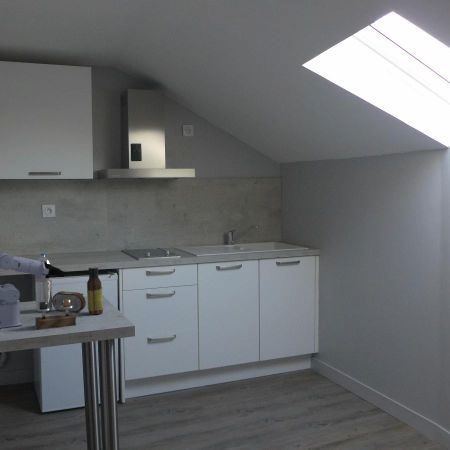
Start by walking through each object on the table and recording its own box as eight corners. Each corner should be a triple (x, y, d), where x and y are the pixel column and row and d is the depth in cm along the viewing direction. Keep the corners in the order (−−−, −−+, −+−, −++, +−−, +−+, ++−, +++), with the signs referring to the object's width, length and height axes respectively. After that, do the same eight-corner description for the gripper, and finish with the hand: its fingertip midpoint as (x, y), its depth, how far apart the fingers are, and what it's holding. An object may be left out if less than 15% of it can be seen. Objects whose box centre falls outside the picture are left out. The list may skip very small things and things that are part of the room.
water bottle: (53, 311, 259) (52, 254, 257) (36, 313, 257) (35, 254, 254) (51, 308, 265) (50, 252, 263) (35, 309, 263) (34, 252, 261)
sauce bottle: (104, 311, 260) (103, 265, 258) (101, 315, 254) (101, 268, 252) (88, 311, 260) (88, 265, 258) (86, 315, 253) (85, 268, 252)
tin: (86, 311, 260) (85, 292, 259) (82, 313, 257) (82, 293, 256) (55, 309, 264) (54, 290, 263) (51, 311, 261) (50, 291, 260)
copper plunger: (62, 318, 235) (61, 301, 235) (59, 315, 240) (58, 299, 239) (75, 316, 238) (74, 300, 237) (71, 313, 242) (71, 298, 241)
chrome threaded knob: (38, 320, 231) (38, 304, 230) (35, 317, 235) (35, 301, 235) (51, 319, 233) (51, 302, 233) (48, 316, 238) (48, 300, 237)
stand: (39, 329, 230) (39, 321, 230) (35, 325, 236) (35, 317, 236) (75, 325, 237) (75, 317, 237) (71, 321, 243) (71, 313, 243)
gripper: (35, 258, 232) (69, 265, 239) (27, 254, 245) (60, 261, 252) (30, 276, 232) (64, 283, 239) (23, 271, 245) (56, 277, 251)
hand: (62, 273), depth 245 cm, fingers open, 7 cm apart
